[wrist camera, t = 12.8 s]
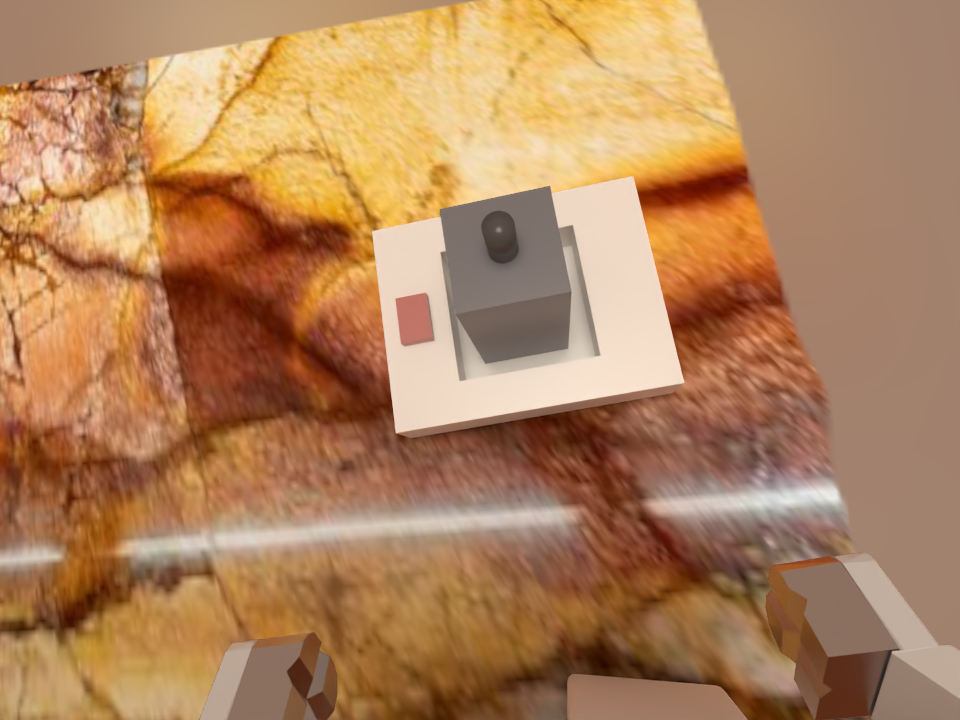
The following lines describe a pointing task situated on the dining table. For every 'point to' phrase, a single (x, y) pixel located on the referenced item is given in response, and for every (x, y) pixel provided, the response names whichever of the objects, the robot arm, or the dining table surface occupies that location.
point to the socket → (542, 377)
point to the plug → (509, 274)
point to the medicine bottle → (646, 700)
